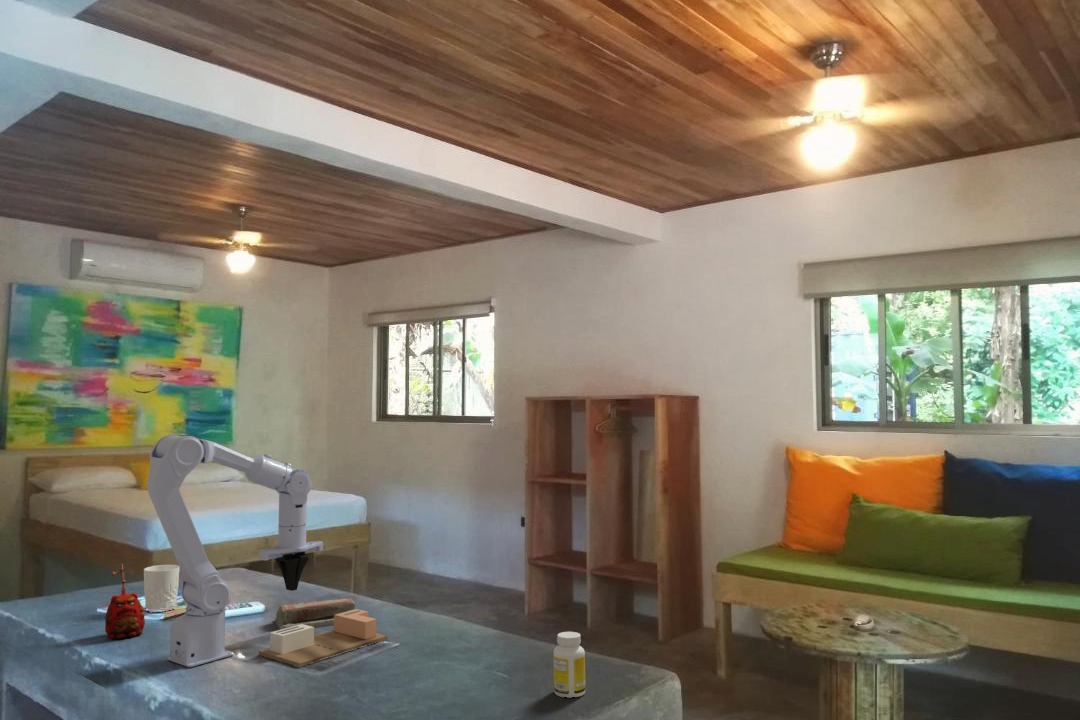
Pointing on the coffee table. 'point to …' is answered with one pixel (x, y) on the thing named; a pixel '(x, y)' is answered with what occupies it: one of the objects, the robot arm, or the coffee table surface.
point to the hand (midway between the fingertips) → (291, 589)
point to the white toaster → (291, 638)
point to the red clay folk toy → (124, 614)
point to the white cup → (161, 586)
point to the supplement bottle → (569, 666)
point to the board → (322, 648)
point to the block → (355, 624)
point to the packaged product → (312, 613)
